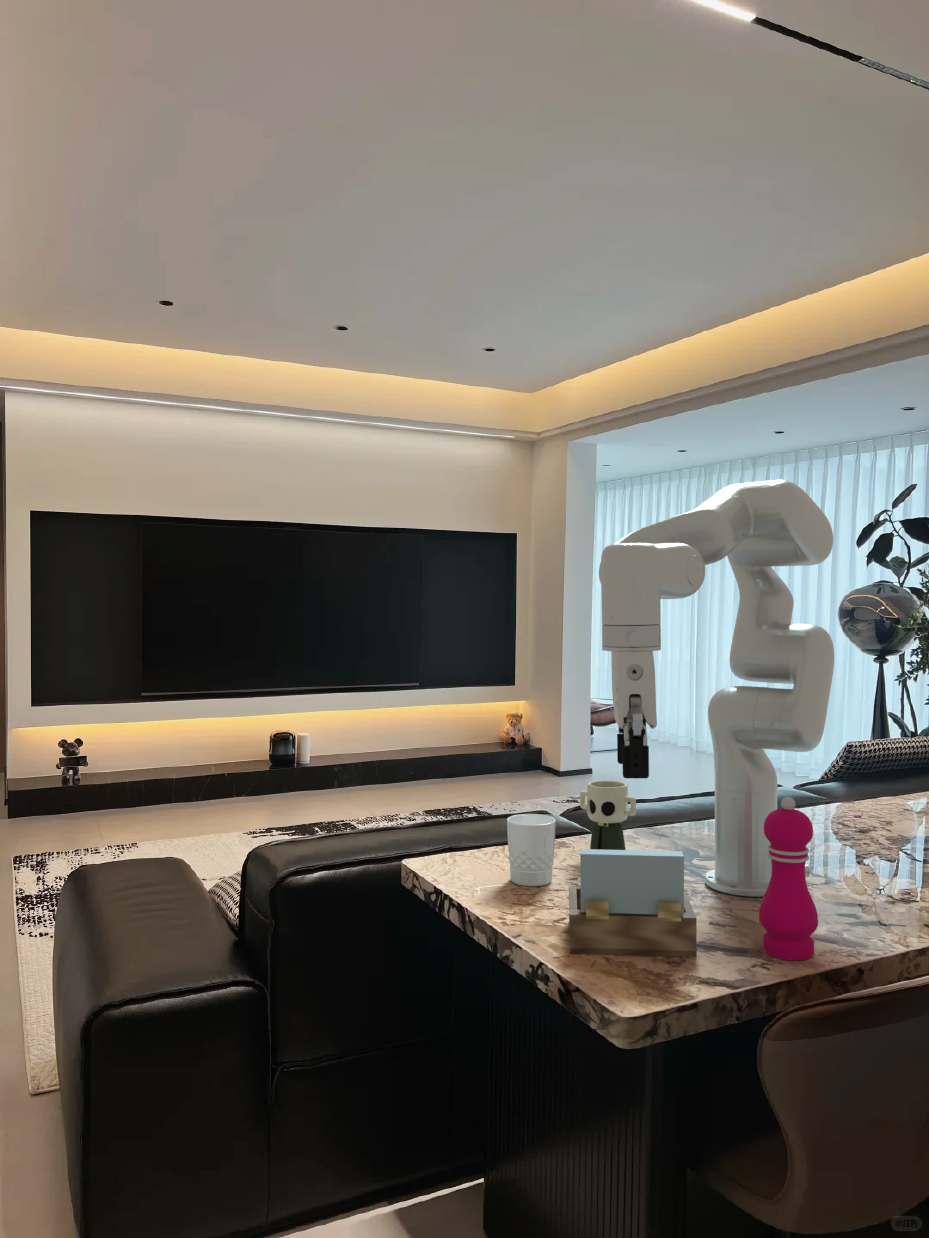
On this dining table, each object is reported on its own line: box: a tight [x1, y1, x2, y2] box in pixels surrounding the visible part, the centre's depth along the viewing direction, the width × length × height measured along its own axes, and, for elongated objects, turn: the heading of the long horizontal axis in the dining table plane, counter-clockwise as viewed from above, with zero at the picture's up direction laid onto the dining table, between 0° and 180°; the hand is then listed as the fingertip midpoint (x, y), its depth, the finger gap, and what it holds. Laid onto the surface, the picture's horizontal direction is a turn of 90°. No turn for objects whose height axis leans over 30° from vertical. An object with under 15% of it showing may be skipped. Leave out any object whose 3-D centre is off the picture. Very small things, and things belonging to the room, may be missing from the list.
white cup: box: [506, 813, 556, 887], centre depth 151 cm, size 8×8×10 cm
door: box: [579, 848, 685, 915], centre depth 120 cm, size 13×3×8 cm, turn 84°
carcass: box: [568, 885, 698, 958], centre depth 124 cm, size 16×13×7 cm
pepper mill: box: [758, 796, 819, 961], centre depth 120 cm, size 7×7×20 cm
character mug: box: [579, 780, 637, 850], centre depth 165 cm, size 11×7×13 cm, turn 54°
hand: (632, 770), depth 121 cm, fingers open, 9 cm apart
